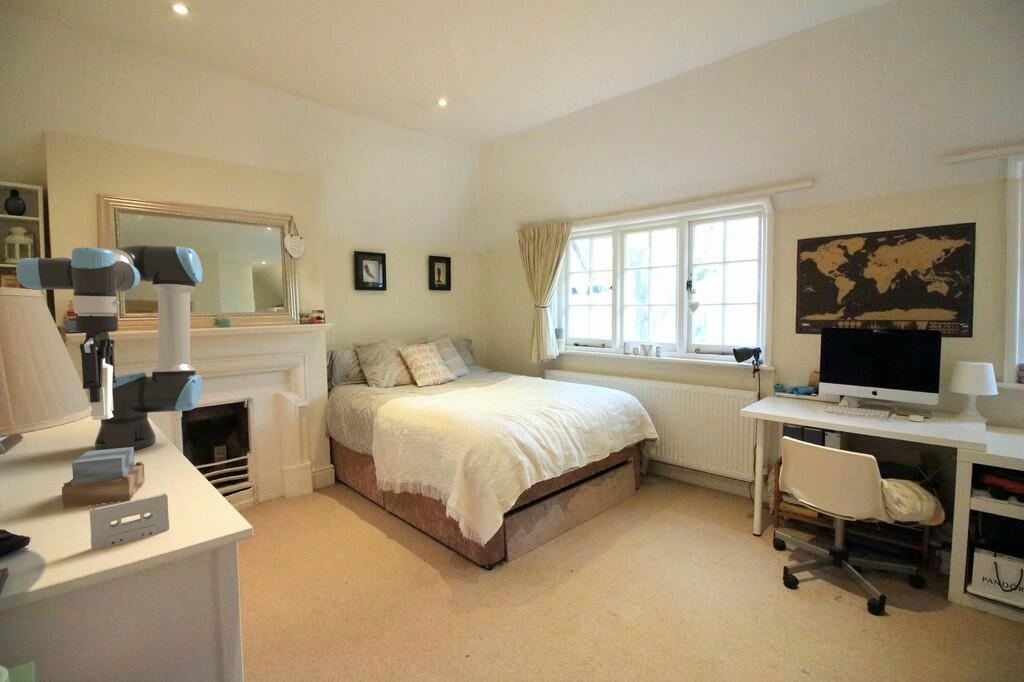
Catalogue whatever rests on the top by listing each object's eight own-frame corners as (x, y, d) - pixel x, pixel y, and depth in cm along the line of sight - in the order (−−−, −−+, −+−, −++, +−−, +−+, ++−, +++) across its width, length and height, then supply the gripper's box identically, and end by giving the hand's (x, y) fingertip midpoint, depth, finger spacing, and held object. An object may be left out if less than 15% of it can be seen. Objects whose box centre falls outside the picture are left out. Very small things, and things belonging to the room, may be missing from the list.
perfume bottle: (94, 416, 113) (91, 354, 112) (117, 415, 114) (114, 354, 113) (85, 421, 109) (81, 356, 107) (108, 419, 110) (105, 356, 109)
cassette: (168, 527, 98) (167, 492, 97) (169, 531, 96) (168, 495, 96) (91, 547, 90) (89, 508, 89) (91, 551, 88) (89, 511, 88)
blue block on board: (84, 489, 116) (82, 450, 115) (144, 482, 121) (142, 444, 120) (63, 509, 105) (60, 465, 105) (129, 500, 110) (127, 458, 110)
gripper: (102, 315, 103) (108, 420, 105) (128, 314, 119) (133, 404, 121) (58, 315, 100) (64, 423, 102) (90, 314, 116) (95, 407, 118)
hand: (101, 412), depth 111 cm, fingers closed on perfume bottle, 5 cm apart
